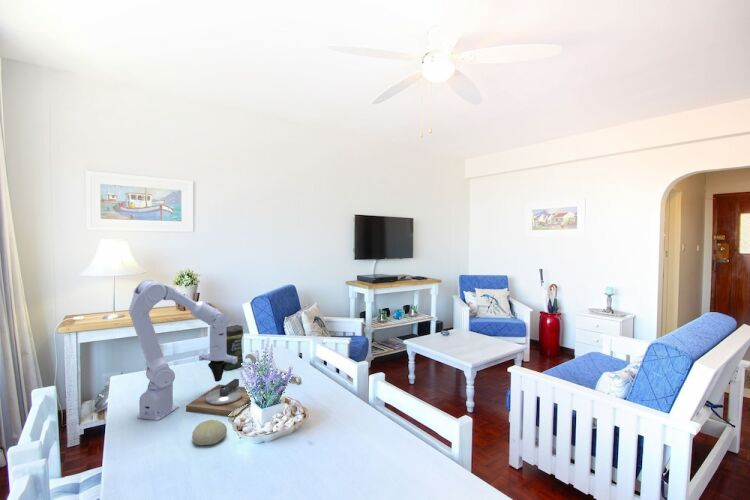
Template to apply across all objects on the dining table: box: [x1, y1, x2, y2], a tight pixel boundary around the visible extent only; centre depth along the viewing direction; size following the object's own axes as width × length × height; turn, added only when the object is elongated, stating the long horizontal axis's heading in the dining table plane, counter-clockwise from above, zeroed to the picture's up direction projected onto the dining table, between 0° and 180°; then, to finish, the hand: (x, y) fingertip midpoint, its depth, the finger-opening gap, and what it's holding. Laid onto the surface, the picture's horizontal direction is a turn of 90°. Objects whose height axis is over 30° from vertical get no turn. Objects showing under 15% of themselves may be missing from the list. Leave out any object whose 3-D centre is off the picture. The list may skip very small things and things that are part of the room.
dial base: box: [185, 383, 251, 417], centre depth 129 cm, size 18×18×2 cm
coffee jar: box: [224, 324, 244, 371], centre depth 163 cm, size 10×8×19 cm
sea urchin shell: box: [191, 419, 228, 446], centre depth 106 cm, size 9×8×8 cm
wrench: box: [244, 352, 302, 385], centre depth 153 cm, size 8×2×30 cm
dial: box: [206, 378, 242, 405], centre depth 129 cm, size 14×12×4 cm
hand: (218, 380), depth 135 cm, fingers closed
